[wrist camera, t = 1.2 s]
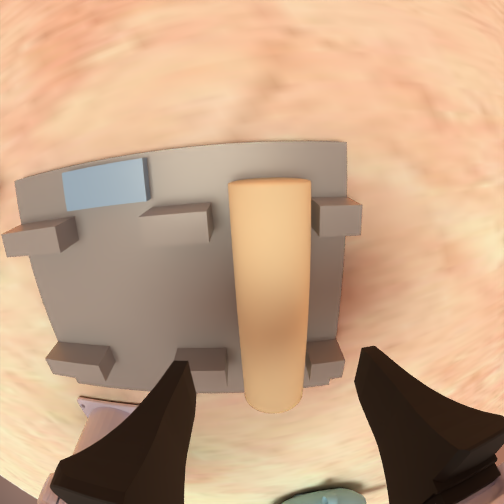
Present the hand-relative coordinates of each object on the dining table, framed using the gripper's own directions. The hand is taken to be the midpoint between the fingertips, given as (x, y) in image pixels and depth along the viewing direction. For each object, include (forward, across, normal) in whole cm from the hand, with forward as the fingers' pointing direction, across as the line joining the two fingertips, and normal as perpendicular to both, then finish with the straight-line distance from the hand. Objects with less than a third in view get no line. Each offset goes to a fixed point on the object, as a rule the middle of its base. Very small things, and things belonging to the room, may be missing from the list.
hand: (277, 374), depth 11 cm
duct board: (+8, +6, 0) cm, 10 cm away
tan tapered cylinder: (+7, 0, 0) cm, 7 cm away
